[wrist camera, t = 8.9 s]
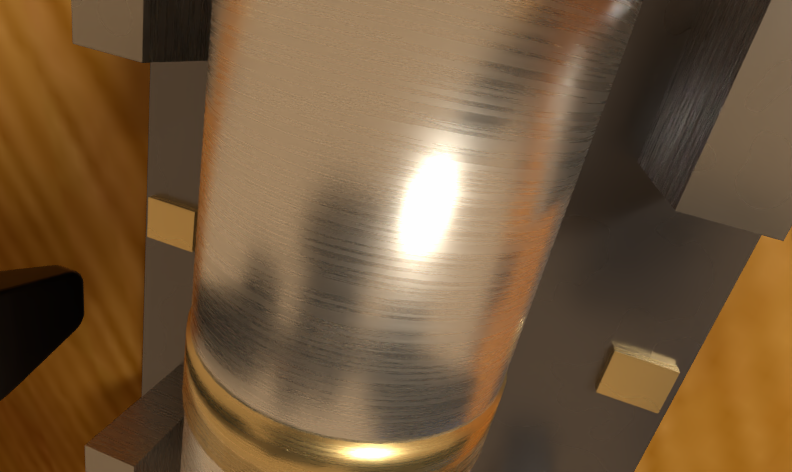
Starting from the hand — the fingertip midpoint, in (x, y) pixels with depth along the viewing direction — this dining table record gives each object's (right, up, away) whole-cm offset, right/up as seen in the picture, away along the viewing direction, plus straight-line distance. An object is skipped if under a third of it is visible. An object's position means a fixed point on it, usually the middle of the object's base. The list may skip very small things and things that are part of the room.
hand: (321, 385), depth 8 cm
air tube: (+1, +1, +3) cm, 3 cm away
